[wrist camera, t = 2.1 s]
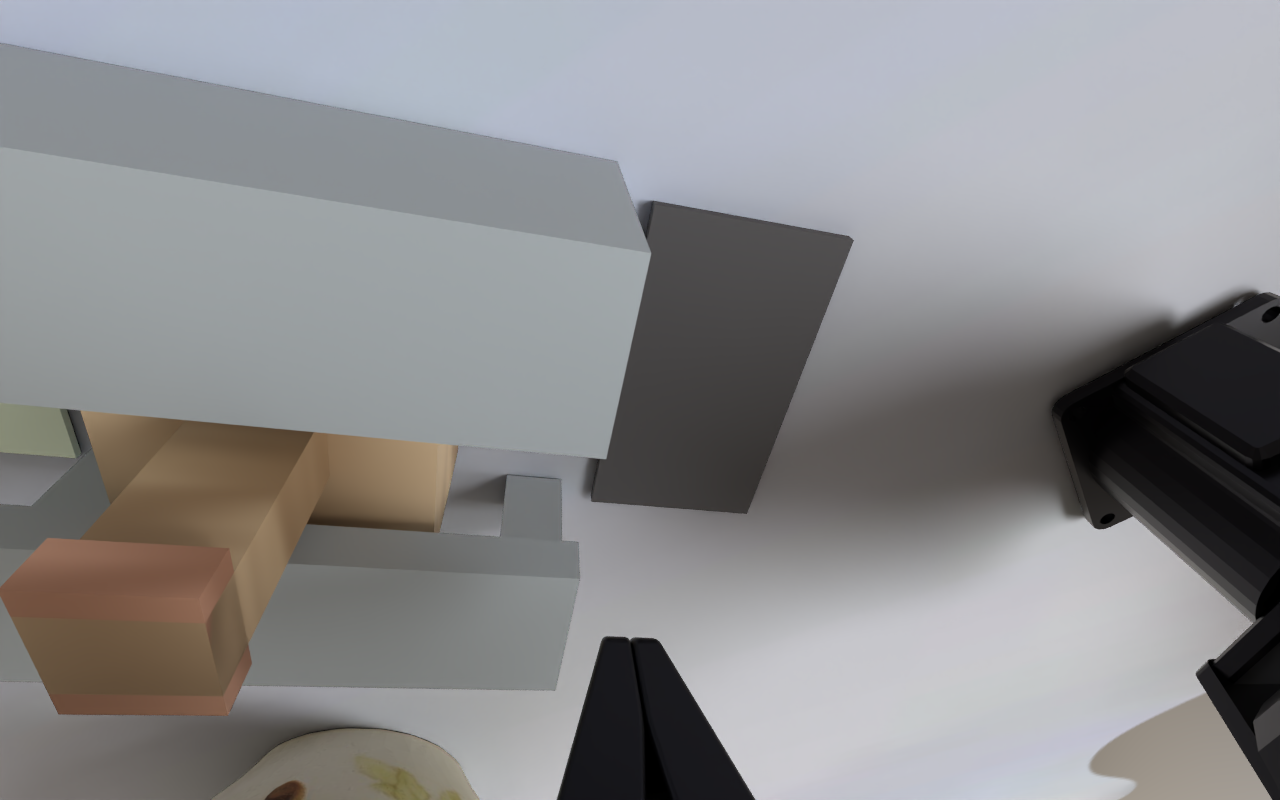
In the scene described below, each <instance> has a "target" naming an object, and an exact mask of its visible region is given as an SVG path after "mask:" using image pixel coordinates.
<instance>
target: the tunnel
mask: <svg viewBox="0 0 1280 800" xmlns="http://www.w3.org/2000/svg"><path fill="white" fill-rule="evenodd" d="M650 257H651V251H650V248H649V246H648V243H647V240H646V238H645V235H644V232H643V229H642V227H641V224H640V221H639V219H638V216H637V213H636V211H635V208H634V205H633V202H632V200H631V197H630V194H629V192H628V189H627V186H626V184H625V181H624V178H623V175H622V173H621V170H620V167H619V165H618V162H617V161H611V160H606V159H601V158H596V157H591V156H585V155H580V154H575V153H570V152H565V151H559V150H554V149H549V148H544V147H539V146H533V145H528V144H523V143H518V142H513V141H507V140H502V139H497V138H492V137H487V136H481V135H476V134H471V133H466V132H461V131H455V130H450V129H445V128H440V127H435V126H429V125H424V124H419V123H414V122H409V121H403V120H398V119H393V118H388V117H383V116H377V115H372V114H367V113H362V112H357V111H351V110H346V109H341V108H336V107H330V106H325V105H320V104H315V103H310V102H304V101H299V100H294V99H289V98H284V97H278V96H273V95H268V94H263V93H258V92H252V91H247V90H242V89H237V88H232V87H226V86H221V85H216V84H211V83H206V82H200V81H195V80H190V79H185V78H180V77H174V76H169V75H164V74H159V73H154V72H148V71H143V70H138V69H133V68H128V67H122V66H117V65H112V64H107V63H102V62H96V61H91V60H86V59H81V58H76V57H70V56H65V55H60V54H55V53H50V52H44V51H39V50H34V49H29V48H24V47H18V46H13V45H8V44H3V43H0V403H7V404H17V405H28V406H39V407H50V408H60V409H71V410H82V411H93V412H103V413H114V414H125V415H136V416H146V417H157V418H168V419H179V420H189V421H200V422H211V423H222V424H232V425H243V426H254V427H264V428H275V429H286V430H297V431H307V432H318V433H329V434H340V435H350V436H361V437H372V438H383V439H393V440H404V441H415V442H426V443H436V444H447V445H458V446H469V447H479V448H490V449H501V450H512V451H522V452H533V453H544V454H554V455H565V456H576V457H587V458H597V459H606V457H607V453H608V448H609V444H610V439H611V435H612V430H613V426H614V421H615V416H616V412H617V407H618V403H619V398H620V394H621V389H622V385H623V380H624V375H625V371H626V366H627V362H628V357H629V353H630V348H631V343H632V339H633V334H634V330H635V325H636V321H637V316H638V312H639V307H640V302H641V298H642V293H643V289H644V284H645V280H646V275H647V271H648V266H649V261H650ZM109 506H110V502H109V498H108V495H107V492H106V489H105V486H104V483H103V480H102V477H101V474H100V470H99V467H98V464H97V461H96V458H95V455H94V452H93V449H91V450H90V451H89V452H88V453H87V454H86V455H84V456H83V457H82V458H81V459H80V460H79V461H78V462H77V463H76V464H75V465H74V466H73V467H72V468H71V469H70V470H69V471H68V472H67V473H66V474H65V475H64V476H62V477H61V478H60V479H59V480H58V481H57V482H56V483H55V484H54V485H53V486H52V487H51V488H50V489H49V490H48V491H47V492H46V493H45V494H44V495H43V496H42V497H40V498H39V499H38V500H37V501H36V502H35V503H34V504H33V505H32V506H20V505H4V504H0V587H1V586H2V585H3V584H4V583H5V582H6V581H7V580H8V579H9V577H10V576H11V575H12V574H13V573H14V572H15V571H16V570H17V569H18V568H19V567H20V566H21V565H22V564H23V563H24V562H25V561H26V560H27V559H28V558H29V557H30V556H31V554H32V553H33V552H34V551H35V550H36V549H37V548H38V547H39V546H40V545H41V544H42V543H43V542H44V541H45V540H46V539H47V538H58V539H76V540H79V539H80V538H81V537H82V536H83V535H84V534H85V533H86V532H87V531H88V529H89V528H90V527H91V526H92V525H93V524H94V523H95V522H96V520H97V519H98V518H99V517H100V516H101V515H102V514H103V513H104V511H105V510H106V509H107V508H108V507H109ZM579 581H580V570H579V543H578V542H572V541H562V486H561V480H560V479H549V478H537V477H525V476H513V475H507V480H506V488H505V497H504V506H503V515H502V524H501V533H500V537H495V536H480V535H465V534H449V533H434V532H419V531H403V530H388V529H373V528H357V527H342V526H326V525H311V524H306V526H305V528H304V530H303V532H302V534H301V536H300V538H299V541H298V543H297V545H296V547H295V549H294V551H293V553H292V555H291V557H290V559H289V561H288V563H287V565H286V567H285V569H284V572H283V574H282V576H281V578H280V580H279V582H278V584H277V586H276V588H275V590H274V592H273V594H272V596H271V598H270V600H269V603H268V605H267V607H266V609H265V611H264V613H263V615H262V617H261V619H260V621H259V623H258V625H257V627H256V629H255V632H254V634H253V636H252V638H251V640H250V642H249V644H248V645H249V650H250V655H251V660H252V665H251V667H250V669H249V671H248V673H247V676H246V678H245V680H244V682H243V684H242V686H303V687H364V688H425V689H487V690H548V691H555V690H556V685H557V681H558V676H559V672H560V667H561V663H562V658H563V654H564V649H565V644H566V640H567V635H568V631H569V626H570V622H571V617H572V612H573V608H574V603H575V599H576V594H577V590H578V585H579ZM0 682H42V680H41V678H40V676H39V674H38V672H37V670H36V668H35V666H34V664H33V662H32V659H31V657H30V655H29V653H28V651H27V649H26V647H25V645H24V643H23V641H22V639H21V637H20V635H19V633H18V631H17V629H16V627H15V625H14V623H13V621H12V619H11V617H10V615H9V613H8V611H7V609H6V607H5V605H4V603H3V601H2V599H1V597H0Z"/></svg>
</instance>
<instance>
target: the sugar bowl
mask: <svg viewBox="0 0 1280 800" xmlns="http://www.w3.org/2000/svg"><path fill="white" fill-rule="evenodd" d="M211 800H480V799H479V798H478V796H477V795H476V793H475V792H474V790H473V789H472V787H471V785H470V784H469V782H468V780H467V778H466V776H465V774H464V772H463V771H462V769H461V767H460V765H459V764H458V762H457V761H456V760H455V759H454V758H453V757H452V756H451V755H449V754H448V753H447V752H446V751H444V750H443V749H442V748H440V747H439V746H437V745H434V744H432V743H430V742H428V741H426V740H423V739H420V738H418V737H415V736H413V735H409V734H404V733H399V732H394V731H389V730H382V729H334V730H328V731H322V732H316V733H310V734H306V735H303V736H300V737H297V738H294V739H291V740H289V741H286V742H284V743H282V744H280V745H279V746H277V747H275V748H274V749H273V750H271V751H270V752H269V753H268V754H267V755H265V756H264V757H263V758H262V759H261V760H260V761H259V762H258V763H257V764H256V765H255V766H254V767H253V768H252V769H250V770H249V771H248V772H247V773H246V774H245V775H244V776H242V777H241V778H240V779H238V780H237V781H236V782H234V783H233V784H232V785H230V786H229V787H227V788H226V789H225V790H223V791H222V792H221V793H219V794H218V795H216V796H215V797H214V798H212V799H211Z"/></svg>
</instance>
